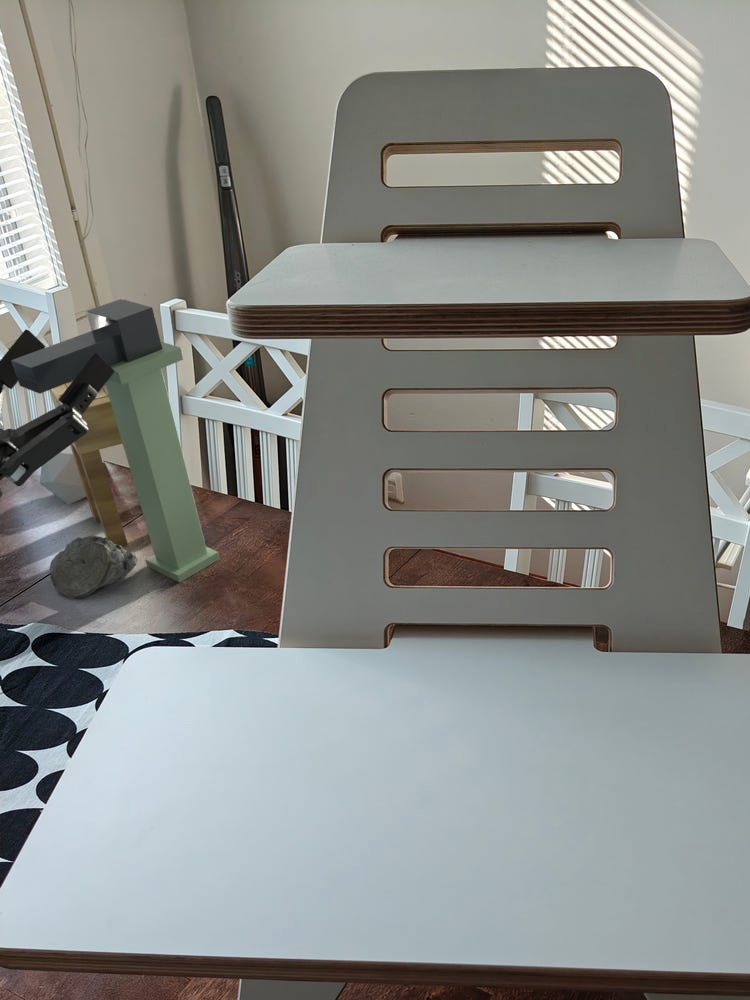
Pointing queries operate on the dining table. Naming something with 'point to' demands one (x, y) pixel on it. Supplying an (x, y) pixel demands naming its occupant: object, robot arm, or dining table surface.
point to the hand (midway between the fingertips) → (69, 349)
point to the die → (63, 477)
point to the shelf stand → (158, 464)
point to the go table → (97, 461)
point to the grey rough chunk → (89, 566)
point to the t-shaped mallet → (92, 346)
